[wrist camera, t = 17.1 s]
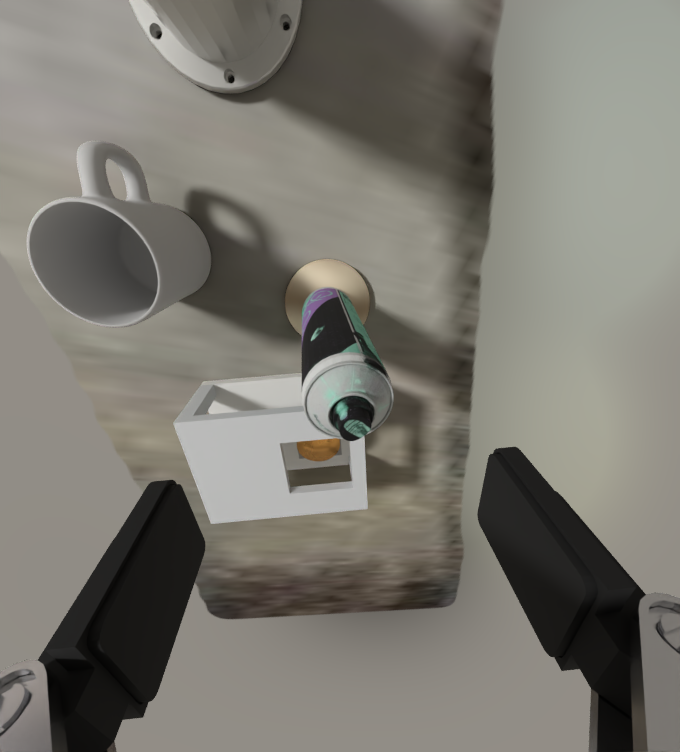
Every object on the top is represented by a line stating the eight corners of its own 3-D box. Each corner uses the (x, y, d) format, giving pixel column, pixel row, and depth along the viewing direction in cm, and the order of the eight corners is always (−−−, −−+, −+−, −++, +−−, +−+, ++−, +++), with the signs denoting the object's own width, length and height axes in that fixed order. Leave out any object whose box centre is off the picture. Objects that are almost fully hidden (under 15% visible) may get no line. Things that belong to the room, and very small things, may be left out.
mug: (217, 297, 33) (174, 331, 23) (133, 295, 32) (51, 328, 23) (199, 160, 28) (133, 128, 18) (98, 154, 27) (-29, 118, 17)
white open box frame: (203, 381, 37) (173, 423, 30) (354, 368, 37) (362, 406, 30) (230, 470, 43) (211, 523, 36) (359, 458, 44) (367, 508, 36)
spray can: (307, 280, 32) (314, 374, 14) (359, 293, 33) (423, 393, 15) (297, 330, 34) (292, 463, 17) (345, 340, 35) (387, 474, 18)
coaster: (279, 262, 32) (278, 263, 31) (367, 255, 32) (368, 256, 31) (291, 345, 36) (291, 347, 35) (370, 339, 36) (371, 340, 35)
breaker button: (296, 410, 38) (293, 428, 35) (336, 406, 39) (338, 424, 35) (301, 442, 41) (299, 463, 37) (339, 438, 41) (341, 459, 37)
